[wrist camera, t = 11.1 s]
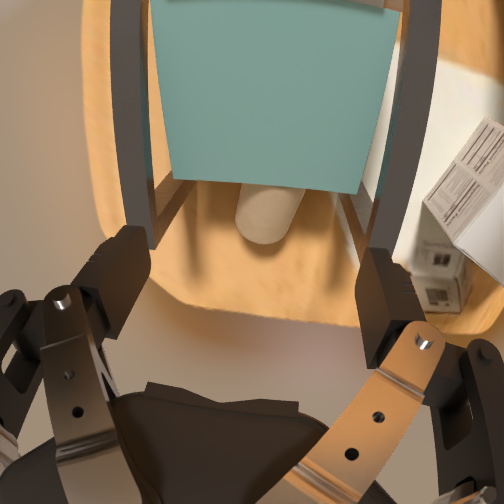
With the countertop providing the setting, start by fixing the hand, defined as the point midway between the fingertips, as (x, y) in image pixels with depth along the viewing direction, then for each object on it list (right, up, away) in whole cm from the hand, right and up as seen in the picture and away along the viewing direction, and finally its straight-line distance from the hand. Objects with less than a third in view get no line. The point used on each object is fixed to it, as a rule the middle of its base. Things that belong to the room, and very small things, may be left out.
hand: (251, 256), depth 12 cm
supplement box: (+29, +7, +19) cm, 36 cm away
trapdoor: (+1, +12, +6) cm, 14 cm away
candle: (+2, +7, +14) cm, 16 cm away
